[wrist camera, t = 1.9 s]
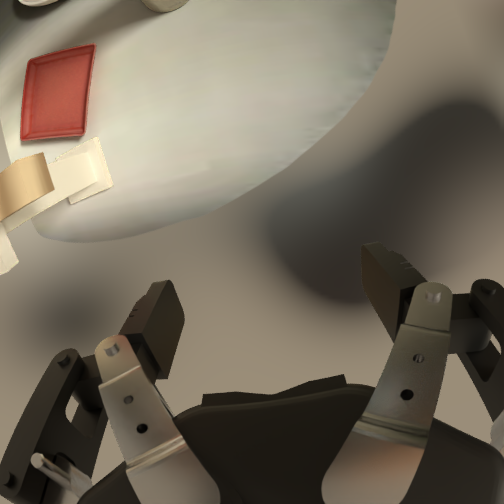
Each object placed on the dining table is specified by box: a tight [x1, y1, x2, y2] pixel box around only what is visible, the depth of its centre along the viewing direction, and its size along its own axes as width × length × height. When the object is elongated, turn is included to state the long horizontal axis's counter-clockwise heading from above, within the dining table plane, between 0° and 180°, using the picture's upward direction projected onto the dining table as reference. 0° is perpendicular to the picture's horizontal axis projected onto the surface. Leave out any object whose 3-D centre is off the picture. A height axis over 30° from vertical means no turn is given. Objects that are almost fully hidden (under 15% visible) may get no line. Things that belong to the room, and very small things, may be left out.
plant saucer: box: [20, 43, 96, 141], centre depth 37 cm, size 18×18×3 cm
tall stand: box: [0, 137, 113, 275], centre depth 31 cm, size 14×12×32 cm
